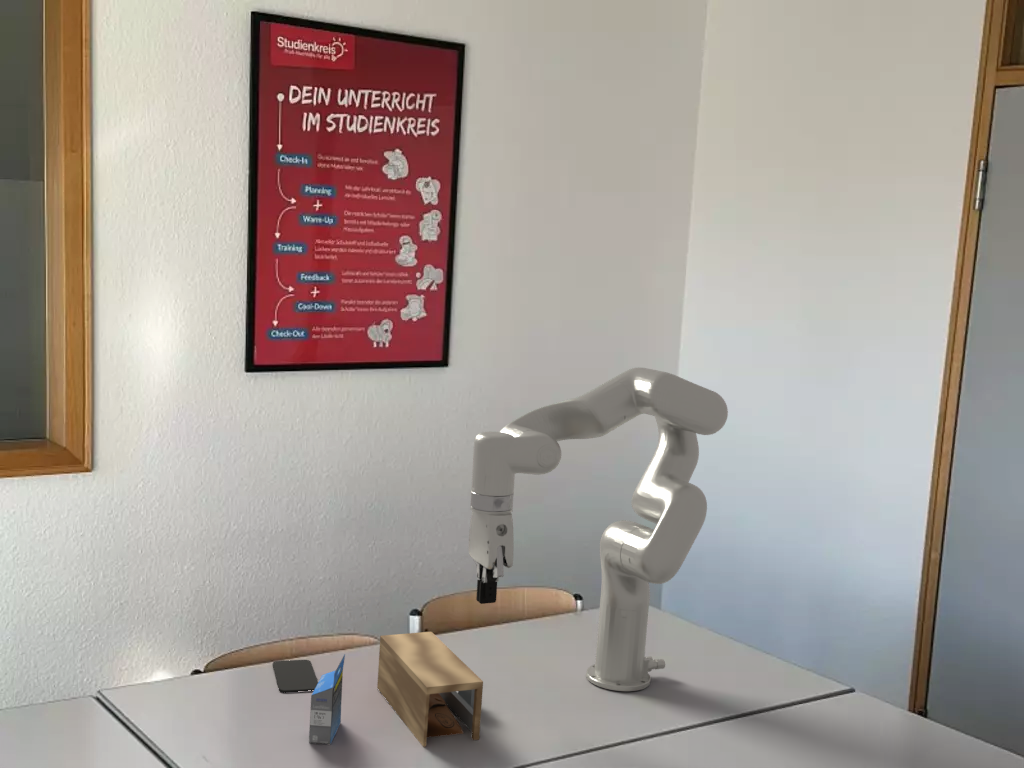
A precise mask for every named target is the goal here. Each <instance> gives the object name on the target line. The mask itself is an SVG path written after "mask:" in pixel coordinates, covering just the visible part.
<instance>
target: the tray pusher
mask: <svg viewBox="0 0 1024 768" xmlns="http://www.w3.org/2000/svg"><path fill="white" fill-rule="evenodd" d="M474 693H475V689H472V690H463V691H454V692H444V693H439V694H440V695H441V697H442V698H443V700H444V701H445V702H446V705H447V706H448V708H449V709H450V711H451V712H452V713H453V714H455V715H456V717H457V718H458V719H459V720H460V721H461V722H462V723H463V725H465V727H467V728H468V730H469V731H470V732H471V733H472V722H473V708H474Z"/></svg>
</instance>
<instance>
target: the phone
mask: <svg viewBox="0 0 1024 768" xmlns="http://www.w3.org/2000/svg"><path fill="white" fill-rule="evenodd" d="M289 660H290V659H288V660H276V661H275V660H274V661H273V662H272V669H273V672H274V677H275V682H276V685H277V689H278V688H279V689H278V692H279V691H280V692H279V693H281V692H283V693H282V694H287V693H286V692H298V691H308V690H311V691H312V690H315V688H316V686H317V684H318V682H319V680H318V678H317V676H316V672H315V670H314V669H315V668H314V667H313V664H312V662H311V660H309V659H291V660H290V661H289ZM284 692H285V693H284Z"/></svg>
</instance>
